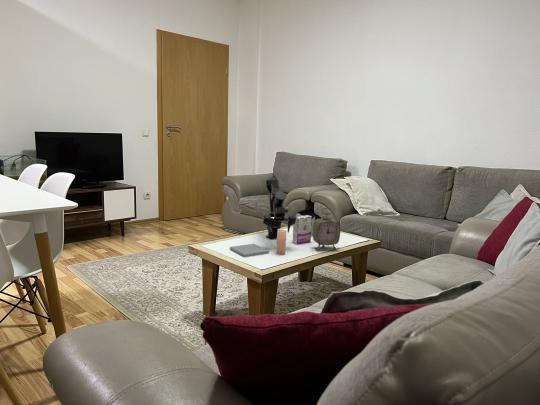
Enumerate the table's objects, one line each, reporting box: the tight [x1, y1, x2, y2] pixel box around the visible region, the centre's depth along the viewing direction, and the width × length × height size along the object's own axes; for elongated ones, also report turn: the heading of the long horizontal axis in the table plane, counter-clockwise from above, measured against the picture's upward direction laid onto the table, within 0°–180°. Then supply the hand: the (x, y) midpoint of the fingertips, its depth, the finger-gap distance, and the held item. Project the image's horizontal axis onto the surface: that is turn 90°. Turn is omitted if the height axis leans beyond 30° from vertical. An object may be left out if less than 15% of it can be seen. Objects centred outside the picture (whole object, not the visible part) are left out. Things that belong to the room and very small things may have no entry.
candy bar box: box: [292, 215, 312, 245], centre depth 266 cm, size 11×5×16 cm, turn 126°
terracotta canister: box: [275, 229, 287, 256], centre depth 242 cm, size 5×5×13 cm
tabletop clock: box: [312, 207, 341, 251], centre depth 254 cm, size 14×9×25 cm, turn 106°
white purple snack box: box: [295, 211, 316, 238], centre depth 286 cm, size 9×14×15 cm, turn 71°
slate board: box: [229, 243, 270, 258], centre depth 244 cm, size 16×16×2 cm
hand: (280, 232), depth 245 cm, fingers open, 9 cm apart
